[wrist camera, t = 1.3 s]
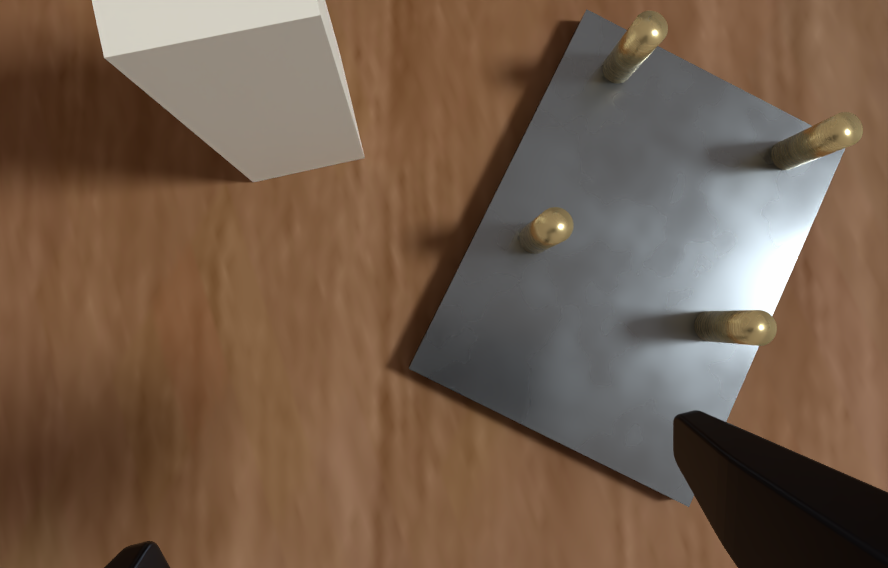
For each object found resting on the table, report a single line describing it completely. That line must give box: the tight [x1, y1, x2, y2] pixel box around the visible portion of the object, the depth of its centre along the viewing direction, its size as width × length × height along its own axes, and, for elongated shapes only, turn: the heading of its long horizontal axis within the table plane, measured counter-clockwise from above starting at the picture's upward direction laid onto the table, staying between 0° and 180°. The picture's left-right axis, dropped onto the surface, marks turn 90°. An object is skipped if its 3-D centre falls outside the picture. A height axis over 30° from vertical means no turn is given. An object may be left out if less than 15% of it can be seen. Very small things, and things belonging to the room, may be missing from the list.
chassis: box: [409, 10, 863, 507], centre depth 19 cm, size 16×12×4 cm
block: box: [92, 0, 365, 182], centre depth 16 cm, size 4×4×10 cm
